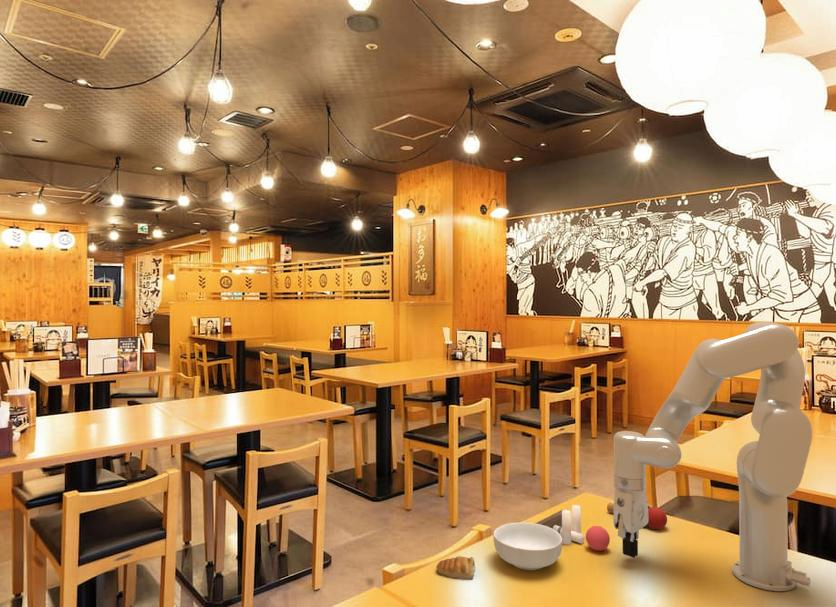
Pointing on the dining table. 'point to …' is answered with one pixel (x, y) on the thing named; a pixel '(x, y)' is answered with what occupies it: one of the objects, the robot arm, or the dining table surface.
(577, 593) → the dining table surface
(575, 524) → the pin
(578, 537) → the front pin
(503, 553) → the cereal bowl
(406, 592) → the dining table surface
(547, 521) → the wall
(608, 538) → the ball
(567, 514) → the pin
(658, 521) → the kendama
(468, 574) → the pastry
